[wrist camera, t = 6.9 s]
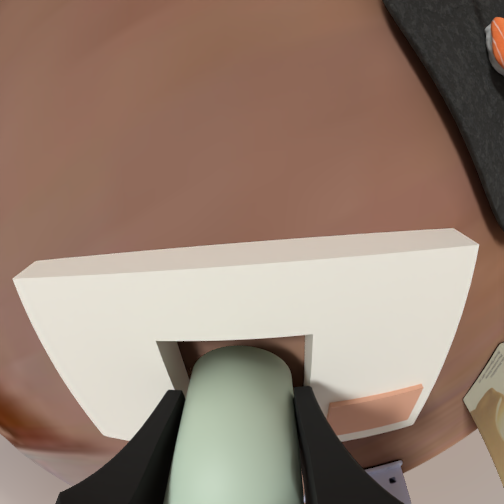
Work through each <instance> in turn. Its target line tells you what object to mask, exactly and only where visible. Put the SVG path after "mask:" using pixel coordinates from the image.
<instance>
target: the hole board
mask: <svg viewBox="0 0 504 504" xmlns="http://www.w3.org/2000/svg"><path fill="white" fill-rule="evenodd" d="M478 248H479V244H477V243H476V242H474V241H473V240H471V239H470V238H468V237H467V236H465V235H463V234H462V233H460V232H459V231H457V230H455V229H454V228H447V229H430V230H414V231H398V232H383V233H368V234H353V235H338V236H324V237H310V238H297V239H283V240H270V241H257V242H244V243H232V244H219V245H207V246H195V247H183V248H171V249H159V250H148V251H137V252H125V253H114V254H103V255H93V256H82V257H71V258H61V259H51V260H41V261H35V262H34V263H32V264H31V265H30V266H28V267H27V268H26V269H25V270H23V271H22V272H21V273H19V274H18V275H17V276H16V277H14V278H13V281H14V284H15V286H16V289H17V291H18V294H19V296H20V299H21V301H22V303H23V306H24V308H25V310H26V312H27V314H28V317H29V319H30V321H31V323H32V325H33V327H34V329H35V331H36V333H37V335H38V337H39V339H40V341H41V343H42V345H43V347H44V348H45V350H46V352H47V354H48V356H49V357H50V359H51V361H52V362H53V364H54V366H55V368H56V369H57V371H58V372H59V374H60V376H61V377H62V379H63V380H64V382H65V384H66V385H67V387H68V388H69V390H70V391H71V393H72V394H73V396H74V397H75V398H76V400H77V401H78V403H79V404H80V406H81V407H82V408H83V410H84V411H85V412H86V414H87V415H88V416H89V418H90V419H91V420H92V422H93V423H94V424H95V425H96V427H97V428H98V429H99V430H100V432H101V433H102V434H103V435H104V436H108V437H113V438H117V439H122V440H128V441H130V440H131V439H132V438H133V437H134V435H135V434H136V433H137V432H138V431H139V429H140V428H141V427H142V426H143V424H144V423H145V422H146V420H147V419H148V418H149V416H150V415H151V414H152V412H153V411H154V409H155V408H156V406H157V405H158V404H159V402H160V401H161V399H162V398H163V396H164V395H165V393H166V392H167V391H168V390H182V391H183V394H184V396H185V399H186V395H187V391H188V387H189V383H190V380H189V377H188V374H187V371H186V368H185V365H184V362H183V359H182V356H181V353H180V350H179V347H178V344H177V341H218V340H243V339H260V338H275V337H288V336H299V335H305V360H304V385H303V387H304V386H310V387H312V390H313V392H314V395H315V397H316V400H317V402H318V404H319V406H320V408H321V410H322V412H323V414H324V416H325V417H326V419H327V421H328V423H329V424H330V426H331V427H332V429H333V431H334V432H335V434H336V435H337V437H338V438H339V440H340V441H341V442H343V441H349V440H354V439H359V438H364V437H368V436H373V435H377V434H381V433H385V432H389V431H393V430H397V429H400V428H404V427H407V426H411V425H413V424H414V422H415V420H416V419H417V417H418V415H419V413H420V411H421V409H422V408H423V406H424V404H425V402H426V400H427V398H428V396H429V394H430V392H431V390H432V388H433V386H434V384H435V382H436V379H437V377H438V375H439V373H440V370H441V368H442V366H443V364H444V361H445V359H446V356H447V354H448V351H449V349H450V346H451V344H452V341H453V338H454V336H455V333H456V330H457V327H458V324H459V321H460V318H461V315H462V312H463V309H464V305H465V302H466V299H467V295H468V291H469V288H470V284H471V280H472V276H473V272H474V267H475V263H476V258H477V253H478Z"/></svg>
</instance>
